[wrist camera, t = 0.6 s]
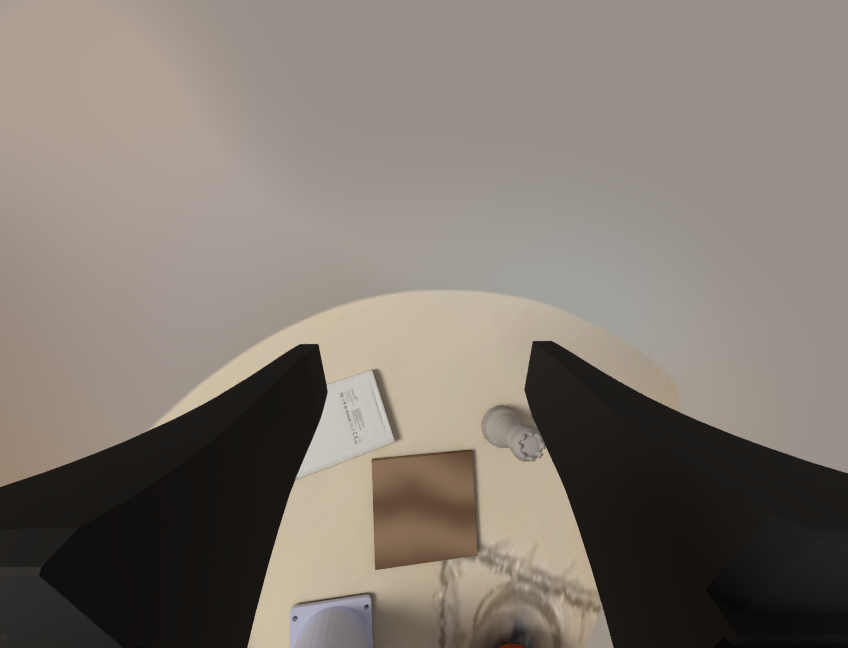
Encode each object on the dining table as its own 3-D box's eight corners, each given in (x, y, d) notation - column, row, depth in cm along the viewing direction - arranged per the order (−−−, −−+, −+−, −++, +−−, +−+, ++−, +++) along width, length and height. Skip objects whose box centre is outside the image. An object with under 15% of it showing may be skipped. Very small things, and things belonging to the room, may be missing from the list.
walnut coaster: (475, 551, 34) (477, 555, 33) (375, 565, 32) (375, 569, 32) (470, 449, 35) (472, 451, 34) (372, 458, 33) (371, 461, 33)
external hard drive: (259, 406, 33) (372, 368, 35) (282, 480, 32) (394, 438, 34) (253, 409, 31) (372, 369, 33) (276, 487, 31) (395, 443, 33)
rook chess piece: (494, 452, 35) (526, 483, 27) (472, 420, 35) (499, 441, 27) (524, 429, 36) (564, 452, 28) (503, 397, 36) (537, 411, 28)
